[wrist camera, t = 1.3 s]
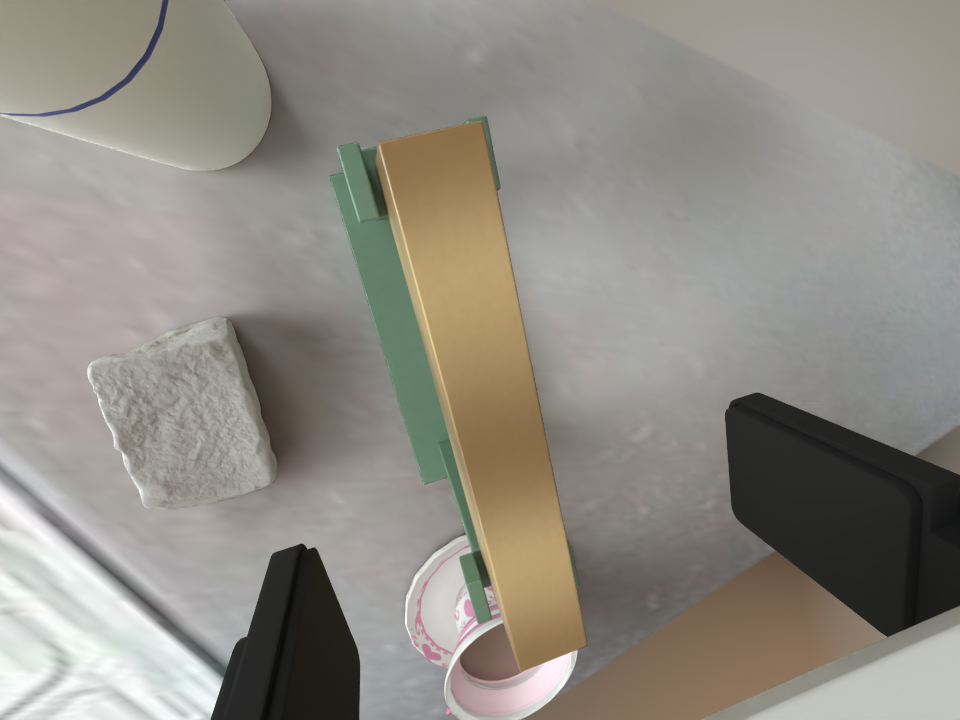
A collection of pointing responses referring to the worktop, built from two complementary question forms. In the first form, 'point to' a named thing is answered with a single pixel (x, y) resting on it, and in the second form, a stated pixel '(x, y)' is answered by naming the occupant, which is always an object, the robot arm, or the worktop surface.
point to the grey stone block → (186, 417)
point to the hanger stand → (406, 340)
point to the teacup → (474, 646)
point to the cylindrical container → (136, 77)
